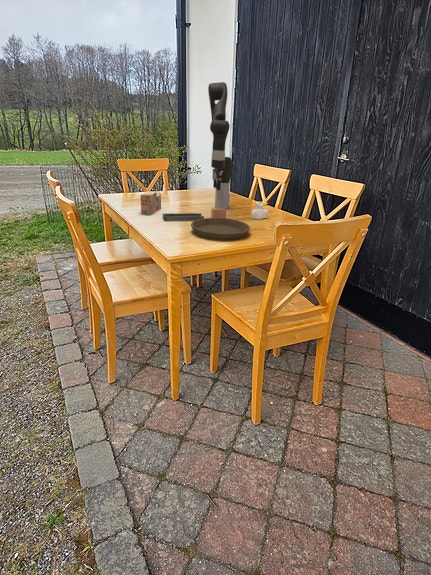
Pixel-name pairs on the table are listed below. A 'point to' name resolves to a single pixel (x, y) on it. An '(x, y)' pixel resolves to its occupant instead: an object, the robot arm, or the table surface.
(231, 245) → the table surface
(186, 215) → the rectangular frame
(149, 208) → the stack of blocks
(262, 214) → the bust
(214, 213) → the block
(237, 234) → the plant saucer
